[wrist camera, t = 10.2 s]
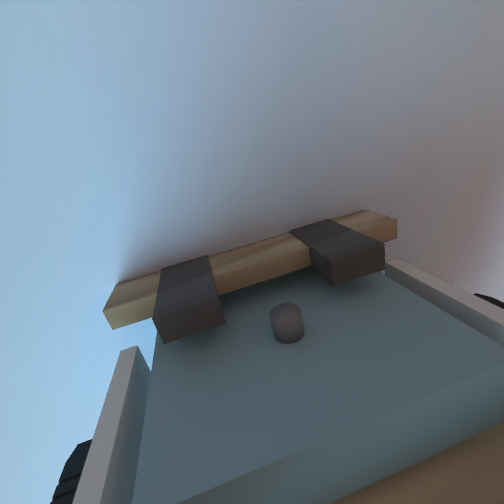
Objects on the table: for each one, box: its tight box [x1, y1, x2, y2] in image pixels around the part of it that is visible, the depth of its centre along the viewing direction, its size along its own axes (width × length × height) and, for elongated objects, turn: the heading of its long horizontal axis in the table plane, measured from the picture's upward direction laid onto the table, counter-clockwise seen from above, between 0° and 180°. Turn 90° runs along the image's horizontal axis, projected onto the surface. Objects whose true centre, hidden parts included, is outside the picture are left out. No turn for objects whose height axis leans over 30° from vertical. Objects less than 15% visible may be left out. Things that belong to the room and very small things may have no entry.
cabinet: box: [103, 210, 504, 504], centre depth 11 cm, size 16×14×13 cm
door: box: [132, 266, 504, 504], centre depth 11 cm, size 4×11×9 cm, turn 103°
